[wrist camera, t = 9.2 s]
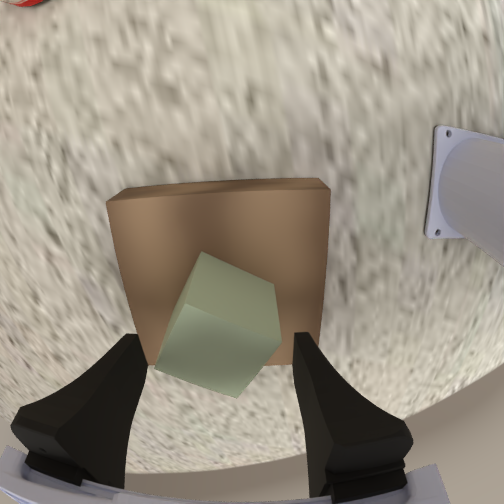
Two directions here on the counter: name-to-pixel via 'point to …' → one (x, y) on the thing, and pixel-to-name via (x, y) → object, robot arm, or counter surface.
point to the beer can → (22, 2)
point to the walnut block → (223, 247)
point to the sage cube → (221, 328)
